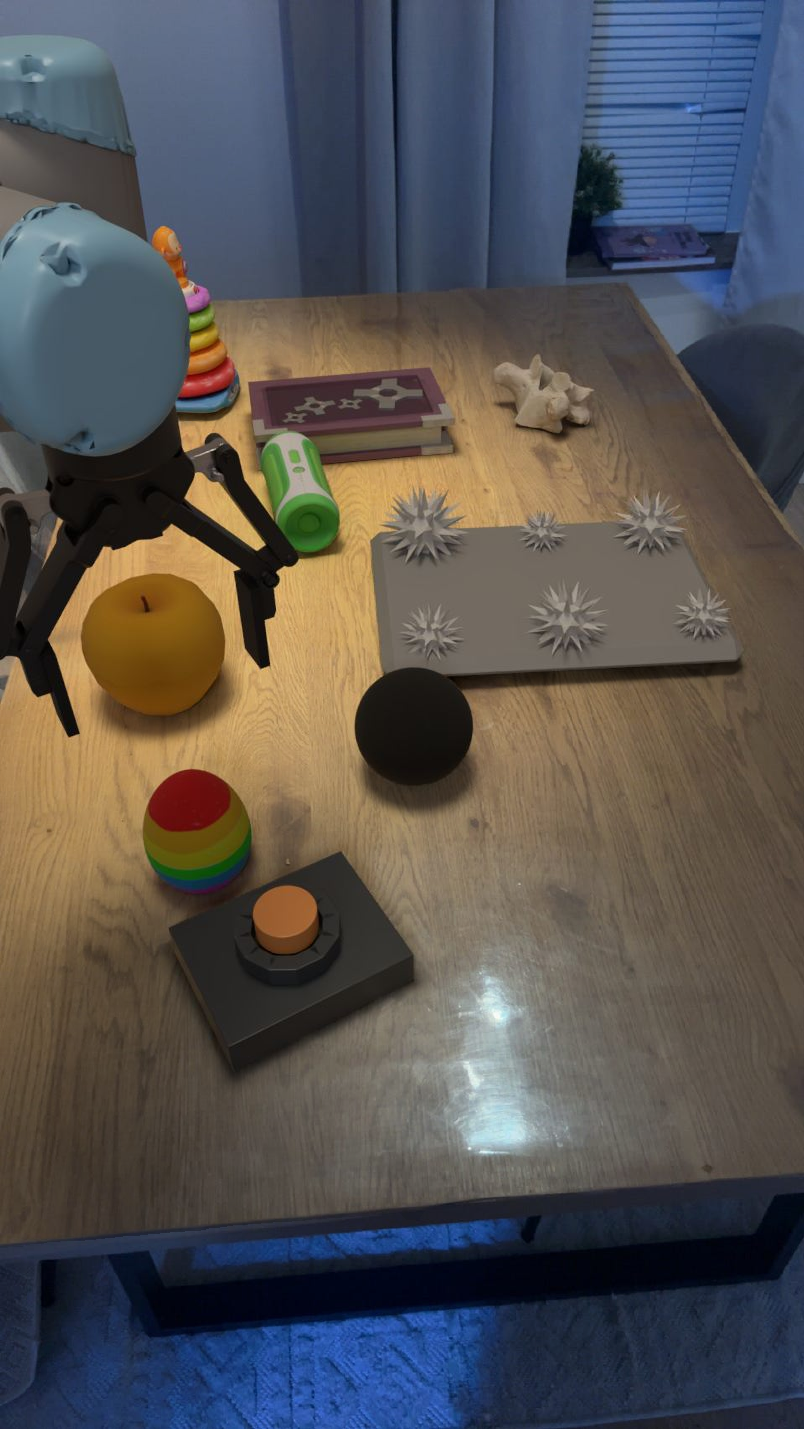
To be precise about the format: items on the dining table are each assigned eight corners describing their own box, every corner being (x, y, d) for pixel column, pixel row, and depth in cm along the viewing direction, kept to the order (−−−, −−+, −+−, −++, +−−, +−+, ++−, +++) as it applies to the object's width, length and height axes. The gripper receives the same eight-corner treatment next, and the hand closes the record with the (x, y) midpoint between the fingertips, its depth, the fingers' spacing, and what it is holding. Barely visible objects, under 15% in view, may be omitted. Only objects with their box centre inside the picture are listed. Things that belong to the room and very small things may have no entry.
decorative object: (555, 451, 134) (557, 399, 128) (475, 414, 141) (473, 363, 135) (595, 419, 138) (599, 366, 132) (515, 385, 145) (515, 333, 138)
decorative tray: (383, 693, 96) (380, 608, 90) (369, 546, 115) (366, 467, 109) (744, 673, 98) (768, 588, 91) (671, 532, 117) (687, 453, 110)
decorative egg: (245, 818, 84) (230, 730, 78) (266, 892, 79) (252, 805, 72) (146, 842, 83) (122, 754, 76) (160, 920, 77) (136, 832, 70)
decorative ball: (339, 794, 86) (333, 707, 80) (379, 720, 93) (376, 633, 87) (451, 822, 84) (454, 734, 77) (484, 743, 91) (489, 656, 84)
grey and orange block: (234, 1072, 68) (224, 1032, 64) (174, 953, 75) (163, 911, 71) (414, 980, 73) (414, 938, 69) (342, 876, 80) (339, 834, 76)
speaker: (344, 553, 114) (341, 494, 109) (280, 561, 113) (274, 502, 108) (319, 478, 127) (315, 422, 122) (261, 485, 126) (255, 429, 121)
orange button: (272, 965, 68) (269, 947, 67) (245, 919, 71) (242, 901, 70) (330, 937, 70) (328, 919, 69) (302, 893, 73) (299, 875, 71)
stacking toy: (226, 423, 139) (202, 244, 123) (135, 419, 140) (100, 241, 124) (247, 381, 149) (227, 211, 133) (162, 378, 150) (133, 209, 134)
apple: (76, 730, 93) (45, 630, 85) (127, 644, 102) (104, 547, 95) (210, 745, 91) (191, 645, 84) (250, 656, 101) (237, 559, 93)
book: (258, 472, 129) (254, 435, 125) (251, 416, 140) (247, 381, 137) (454, 454, 132) (455, 418, 128) (430, 400, 144) (430, 366, 140)
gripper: (-136, 474, 47) (-7, 792, 61) (338, 360, 56) (354, 659, 70) (-159, 413, 52) (-35, 720, 66) (281, 317, 61) (306, 605, 75)
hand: (166, 689), depth 68 cm, fingers open, 13 cm apart
